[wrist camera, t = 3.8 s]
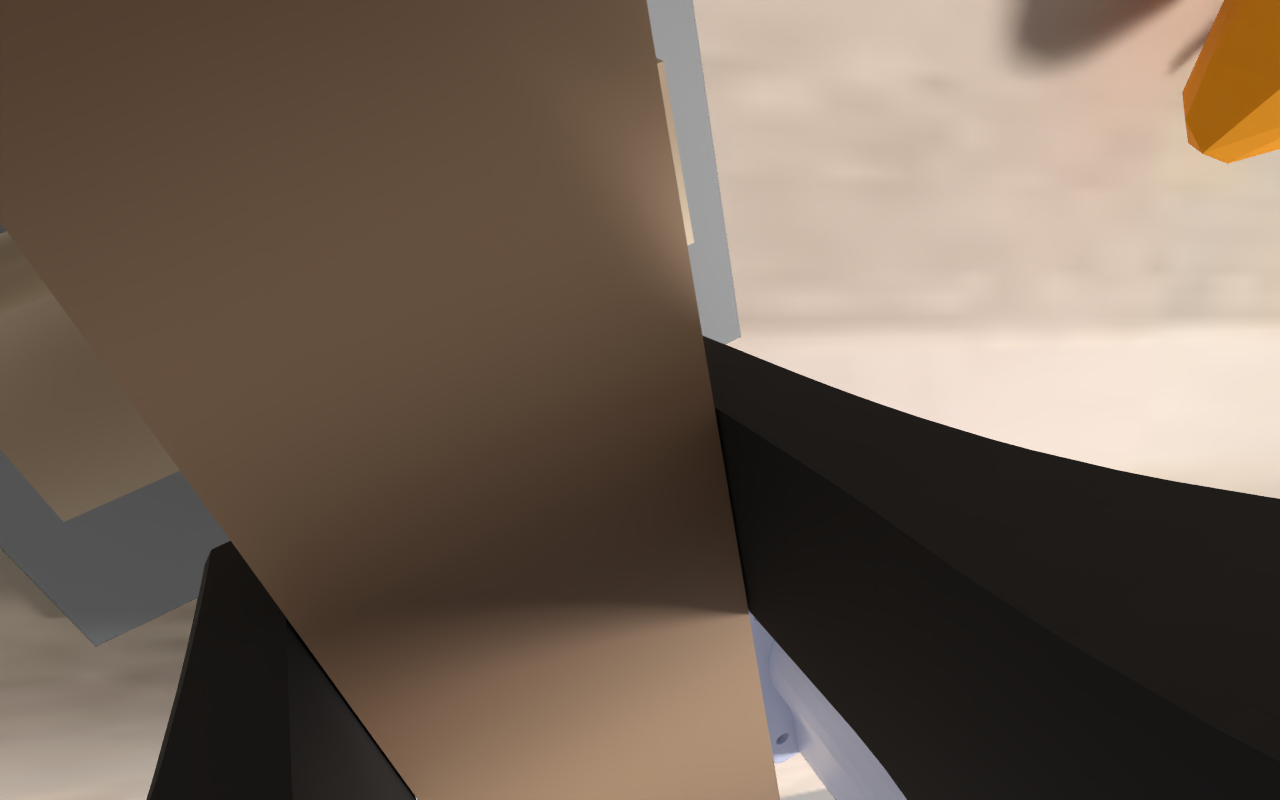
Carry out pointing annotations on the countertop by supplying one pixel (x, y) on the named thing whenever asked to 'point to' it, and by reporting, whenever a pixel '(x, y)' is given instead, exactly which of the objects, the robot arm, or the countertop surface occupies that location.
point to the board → (176, 516)
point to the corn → (1237, 83)
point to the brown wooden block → (416, 360)
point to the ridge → (93, 391)
